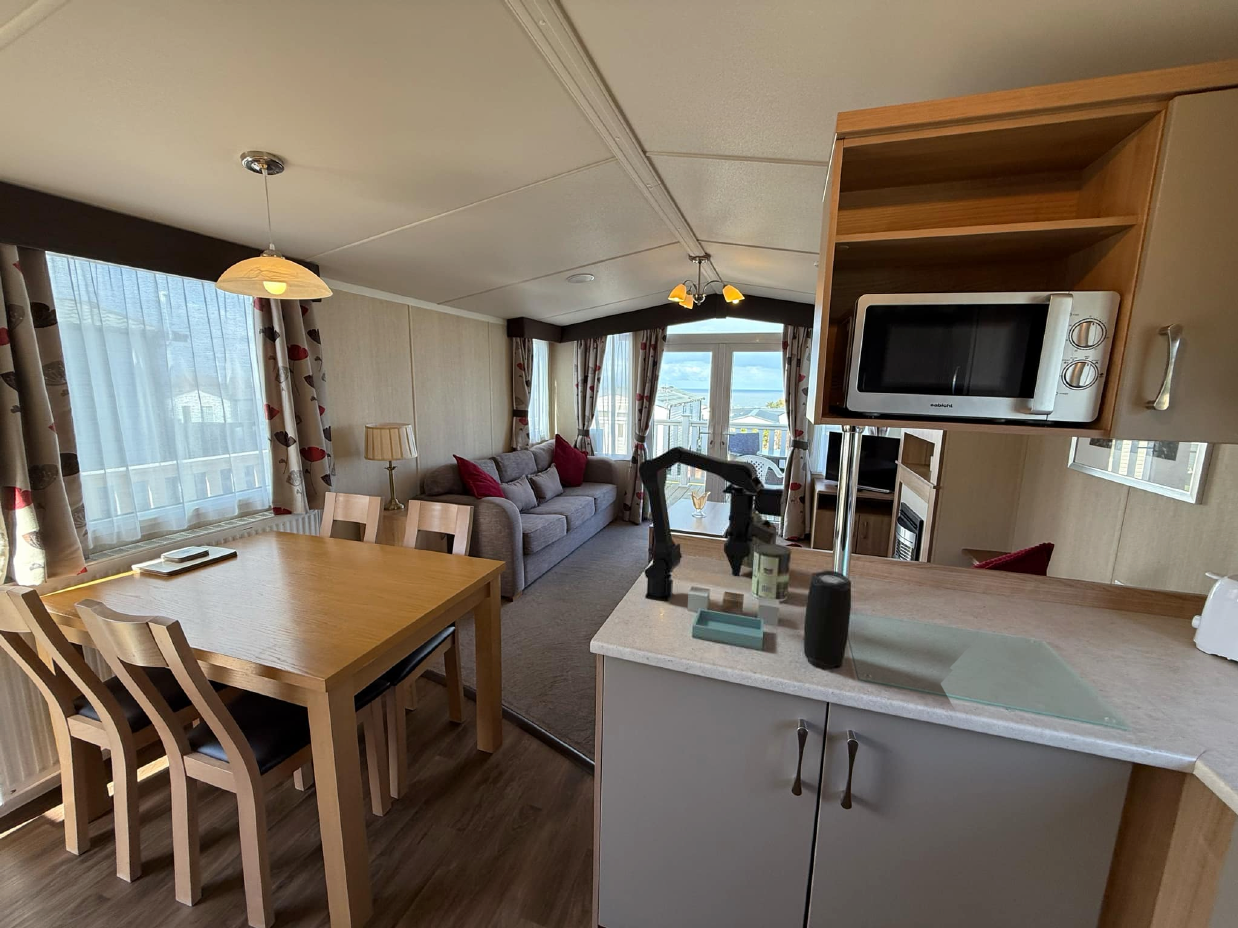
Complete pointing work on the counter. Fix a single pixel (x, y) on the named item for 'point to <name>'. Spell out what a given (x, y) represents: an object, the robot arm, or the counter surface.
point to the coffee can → (771, 571)
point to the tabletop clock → (755, 542)
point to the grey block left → (698, 599)
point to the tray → (728, 628)
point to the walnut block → (733, 603)
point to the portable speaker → (827, 619)
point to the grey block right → (768, 610)
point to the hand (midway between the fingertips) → (738, 569)
